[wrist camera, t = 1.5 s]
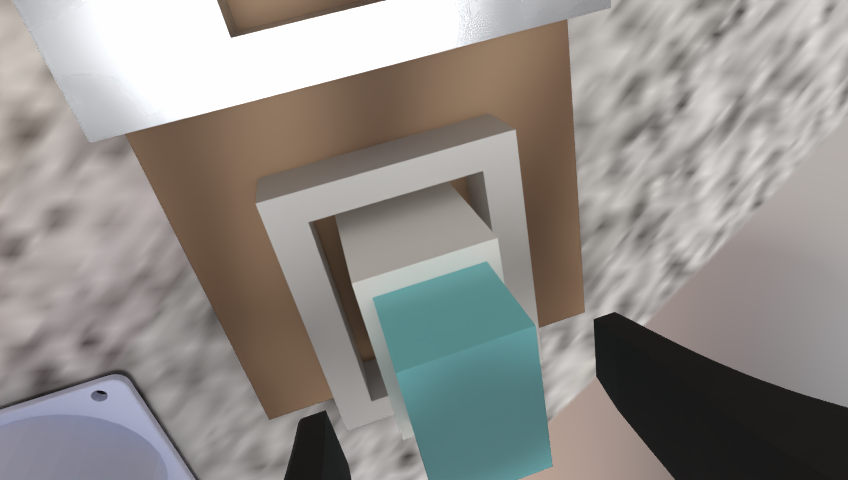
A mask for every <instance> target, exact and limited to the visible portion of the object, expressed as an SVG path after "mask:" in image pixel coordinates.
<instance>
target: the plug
mask: <svg viewBox="0 0 848 480" xmlns="http://www.w3.org/2000/svg"><path fill="white" fill-rule="evenodd" d="M335 218H336V223H337V227H338V231H339V235H340V239H341V243H342V247H343V251H344V255H345V259H346V263H347V267H348V271H349V275H350V279H351V283H352V286H353V289H354V292H355V296H356V299H357V302H358V305H359V308H360V311H361V314H362V317H363V320H364V323H365V326H366V329H367V332H368V335H369V338H370V341H371V344H372V347H373V350H374V353H375V356H376V359H377V362H378V365H379V368H380V372H381V375H382V378H383V381H384V384H385V387H386V390H387V393H388V396H389V399H390V402H391V405H392V408H393V411H394V414H395V417H396V420H397V423H398V426H399V429H400V432H401V435H402V438H403V440H405V439H408V438H411V437H414V436H415V438H416V441H417V444H418V448H419V451H420V454H421V457H422V460H423V464H424V467H425V470H426V473H427V477H428V480H518V479H521V478H523V477H526V476H529V475H531V474H534V473H537V472H539V471H542V470H544V469H547V468H550V467H552V466H553V465H552V457H551V449H550V441H549V433H548V424H547V416H546V407H545V399H544V391H543V382H542V374H541V366H540V358H539V349H538V341H537V333H536V325H535V324H534V323H533V321H532V320H531V319H530V317H529V316H528V315H527V314H526V312H525V311H524V310H523V308H522V307H521V306H520V304H519V303H518V302H517V300H516V299H515V298H514V296H513V295H512V294H511V292H510V291H509V290H508V289H507V287H506V286H505V283H504V276H503V270H502V263H501V257H500V250H499V243H498V238H497V237H496V235H495V234H494V233H493V232H492V231H491V230H490V229H489V227H488V226H487V225H486V224H485V223H484V222H483V221H482V219H481V218H480V217H479V216H478V215H477V214H476V213H475V211H474V210H473V209H472V208H471V207H470V206H469V205H468V203H467V202H466V201H465V200H464V199H463V198H462V197H461V195H460V194H459V193H458V192H457V191H456V190H455V189H454V187H453V186H452V185H451V184H450V183H449V182H448V181H447V182H444V183H440V184H437V185H433V186H430V187H427V188H423V189H420V190H417V191H413V192H410V193H406V194H403V195H400V196H396V197H393V198H389V199H386V200H383V201H379V202H376V203H372V204H369V205H366V206H362V207H359V208H355V209H352V210H349V211H345V212H342V213H338V214H335Z"/></svg>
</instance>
